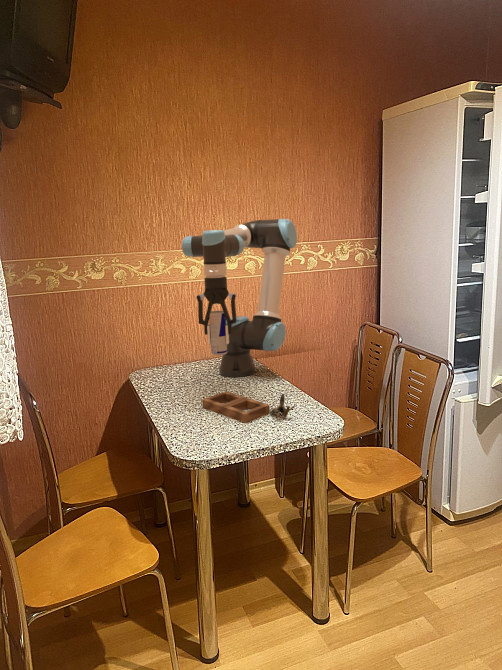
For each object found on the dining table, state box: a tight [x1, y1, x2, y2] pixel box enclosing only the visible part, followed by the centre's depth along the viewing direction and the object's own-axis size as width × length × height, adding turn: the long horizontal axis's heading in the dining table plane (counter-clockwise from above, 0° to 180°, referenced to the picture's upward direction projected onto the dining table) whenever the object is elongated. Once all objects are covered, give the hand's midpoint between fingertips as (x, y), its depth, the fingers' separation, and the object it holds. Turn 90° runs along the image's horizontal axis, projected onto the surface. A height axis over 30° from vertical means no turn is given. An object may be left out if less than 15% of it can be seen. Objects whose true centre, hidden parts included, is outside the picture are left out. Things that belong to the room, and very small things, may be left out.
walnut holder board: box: [201, 391, 271, 424], centre depth 189 cm, size 22×11×3 cm, turn 43°
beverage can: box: [209, 310, 227, 356], centre depth 192 cm, size 6×6×15 cm
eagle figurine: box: [270, 393, 296, 420], centre depth 182 cm, size 8×7×9 cm
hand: (218, 343), depth 192 cm, fingers closed on beverage can, 5 cm apart
